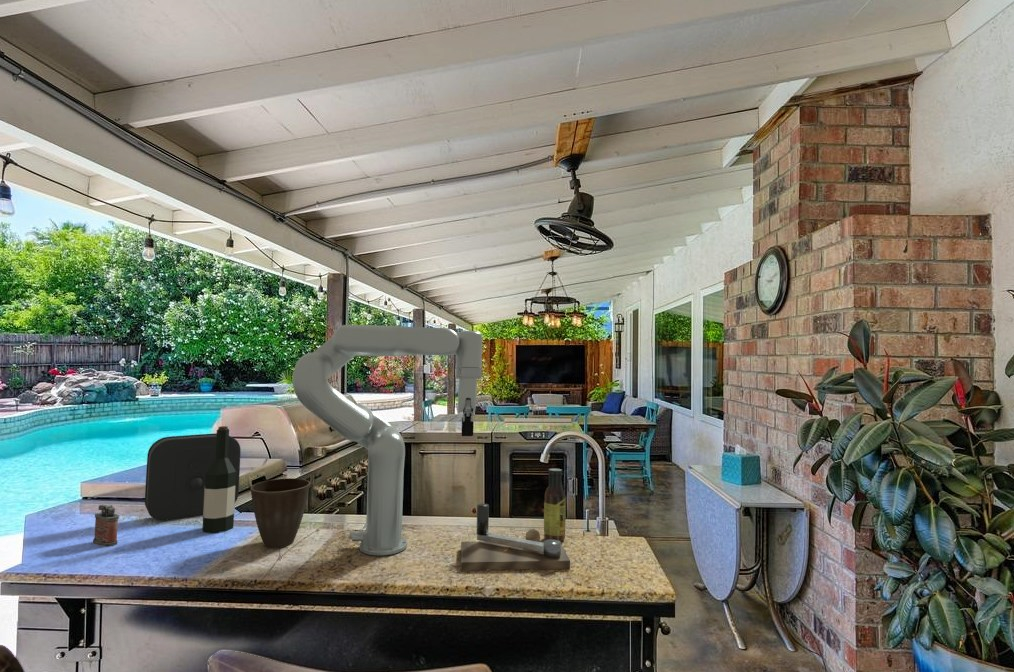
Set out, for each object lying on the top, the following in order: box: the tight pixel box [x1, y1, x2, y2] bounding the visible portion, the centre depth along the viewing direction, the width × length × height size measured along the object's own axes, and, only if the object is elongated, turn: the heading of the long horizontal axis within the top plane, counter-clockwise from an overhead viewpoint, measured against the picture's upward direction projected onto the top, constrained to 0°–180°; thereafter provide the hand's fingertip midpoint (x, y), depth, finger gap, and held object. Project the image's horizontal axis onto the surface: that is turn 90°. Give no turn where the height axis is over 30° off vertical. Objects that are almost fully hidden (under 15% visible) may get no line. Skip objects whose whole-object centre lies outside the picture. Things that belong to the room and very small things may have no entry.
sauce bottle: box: [543, 467, 567, 542], centre depth 145 cm, size 7×6×20 cm
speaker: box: [144, 432, 242, 522], centre depth 161 cm, size 25×9×25 cm, turn 131°
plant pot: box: [250, 477, 311, 549], centre depth 137 cm, size 15×15×16 cm
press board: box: [460, 528, 571, 572], centre depth 129 cm, size 27×14×6 cm, turn 95°
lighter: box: [92, 504, 120, 548], centre depth 135 cm, size 8×3×10 cm, turn 65°
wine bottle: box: [201, 425, 236, 534], centre depth 148 cm, size 8×8×30 cm
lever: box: [476, 503, 562, 558], centre depth 130 cm, size 24×4×10 cm, turn 65°
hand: (467, 433), depth 143 cm, fingers open, 9 cm apart
